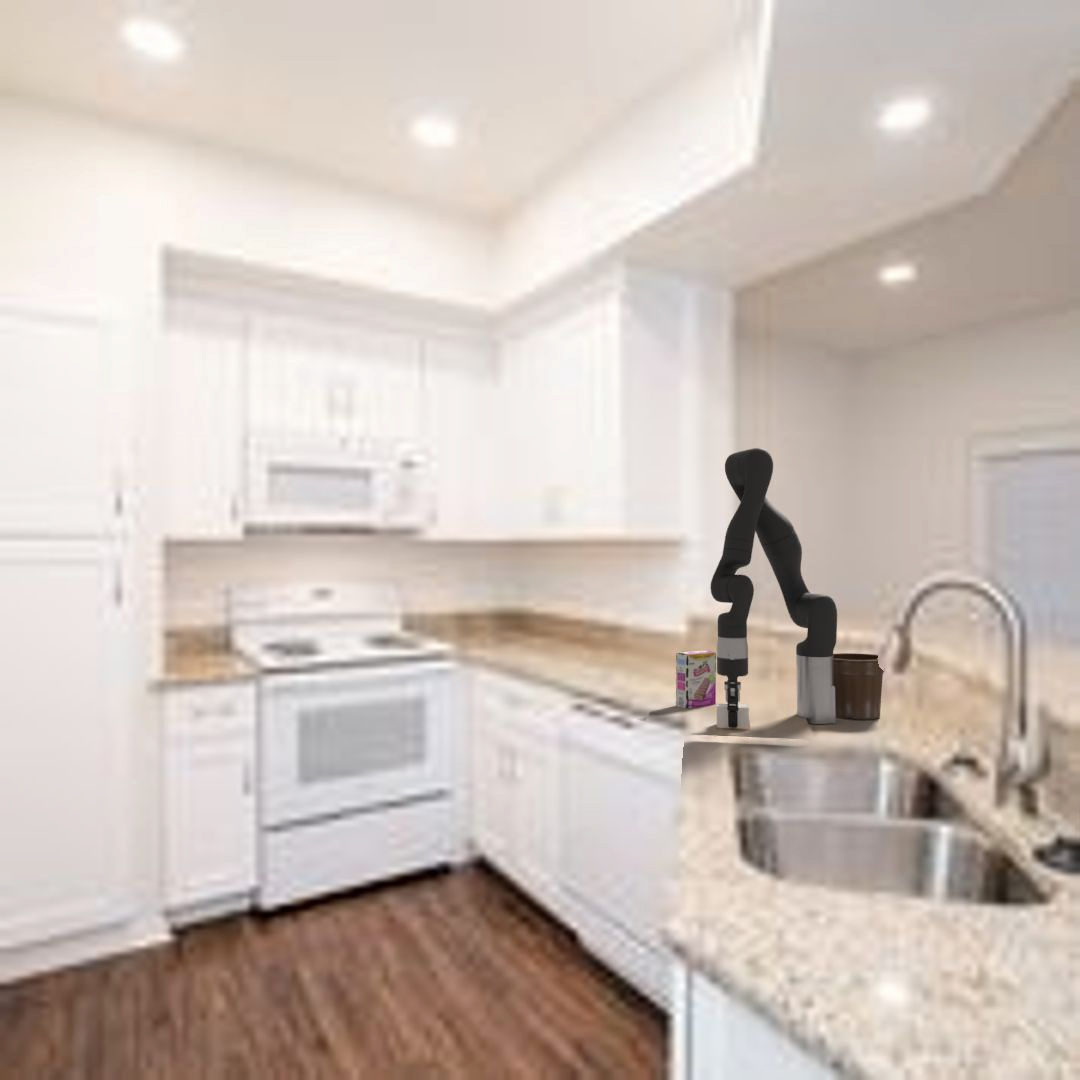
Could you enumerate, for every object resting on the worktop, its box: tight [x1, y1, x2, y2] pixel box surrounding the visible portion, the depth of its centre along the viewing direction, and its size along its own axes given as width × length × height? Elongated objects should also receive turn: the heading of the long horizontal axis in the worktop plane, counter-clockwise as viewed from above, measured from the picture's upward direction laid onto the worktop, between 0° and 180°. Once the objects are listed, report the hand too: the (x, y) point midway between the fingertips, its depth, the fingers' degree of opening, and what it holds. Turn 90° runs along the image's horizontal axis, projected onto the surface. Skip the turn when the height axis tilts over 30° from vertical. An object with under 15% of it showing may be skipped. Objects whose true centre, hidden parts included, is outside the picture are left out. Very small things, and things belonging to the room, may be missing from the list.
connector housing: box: [716, 703, 750, 729], centre depth 198 cm, size 8×4×5 cm, turn 77°
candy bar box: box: [675, 650, 717, 709], centre depth 226 cm, size 11×5×16 cm, turn 122°
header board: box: [716, 719, 752, 732], centre depth 203 cm, size 8×20×2 cm, turn 167°
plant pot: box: [833, 652, 885, 721], centre depth 217 cm, size 16×16×16 cm
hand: (732, 724), depth 198 cm, fingers closed on connector housing, 4 cm apart
